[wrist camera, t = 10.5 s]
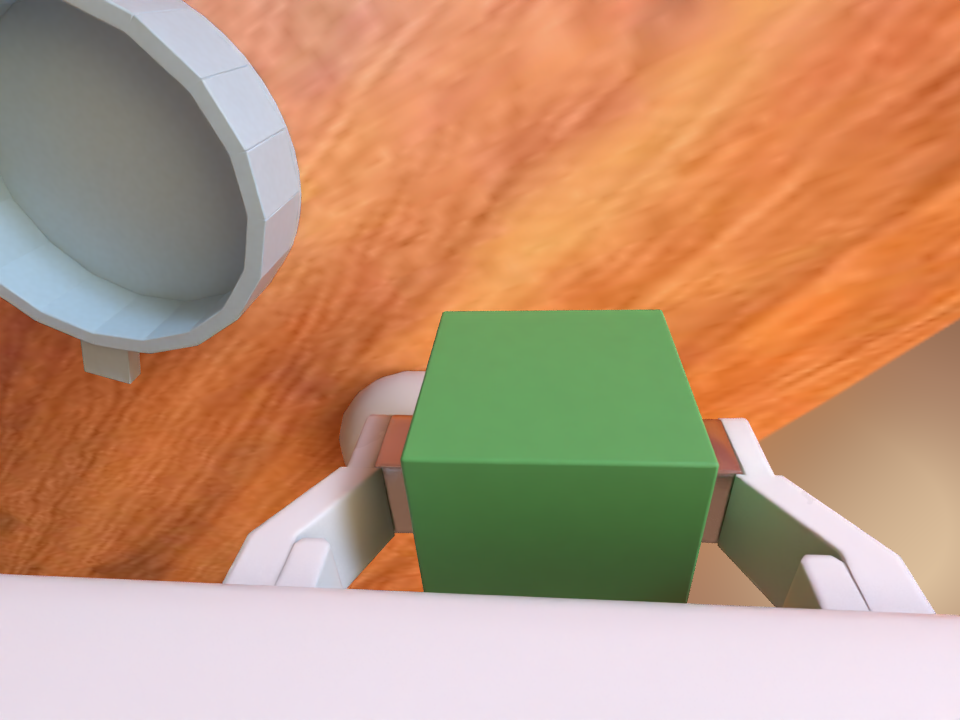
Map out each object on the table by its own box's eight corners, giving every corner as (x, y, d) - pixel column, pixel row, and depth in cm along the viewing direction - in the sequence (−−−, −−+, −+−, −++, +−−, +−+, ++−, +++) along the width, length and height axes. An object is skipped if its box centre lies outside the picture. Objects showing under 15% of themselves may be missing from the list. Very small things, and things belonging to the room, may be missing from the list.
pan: (330, -37, 22) (287, -39, 18) (281, 378, 34) (248, 427, 30) (-89, -185, 21) (-227, -220, 17) (10, 300, 32) (-59, 342, 29)
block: (662, 308, 12) (721, 465, 8) (640, 470, 14) (678, 649, 11) (442, 310, 12) (398, 459, 8) (459, 467, 15) (431, 636, 11)
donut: (377, 489, 39) (523, 479, 37) (362, 530, 36) (521, 522, 34) (326, 367, 33) (494, 348, 31) (304, 404, 30) (488, 386, 28)
